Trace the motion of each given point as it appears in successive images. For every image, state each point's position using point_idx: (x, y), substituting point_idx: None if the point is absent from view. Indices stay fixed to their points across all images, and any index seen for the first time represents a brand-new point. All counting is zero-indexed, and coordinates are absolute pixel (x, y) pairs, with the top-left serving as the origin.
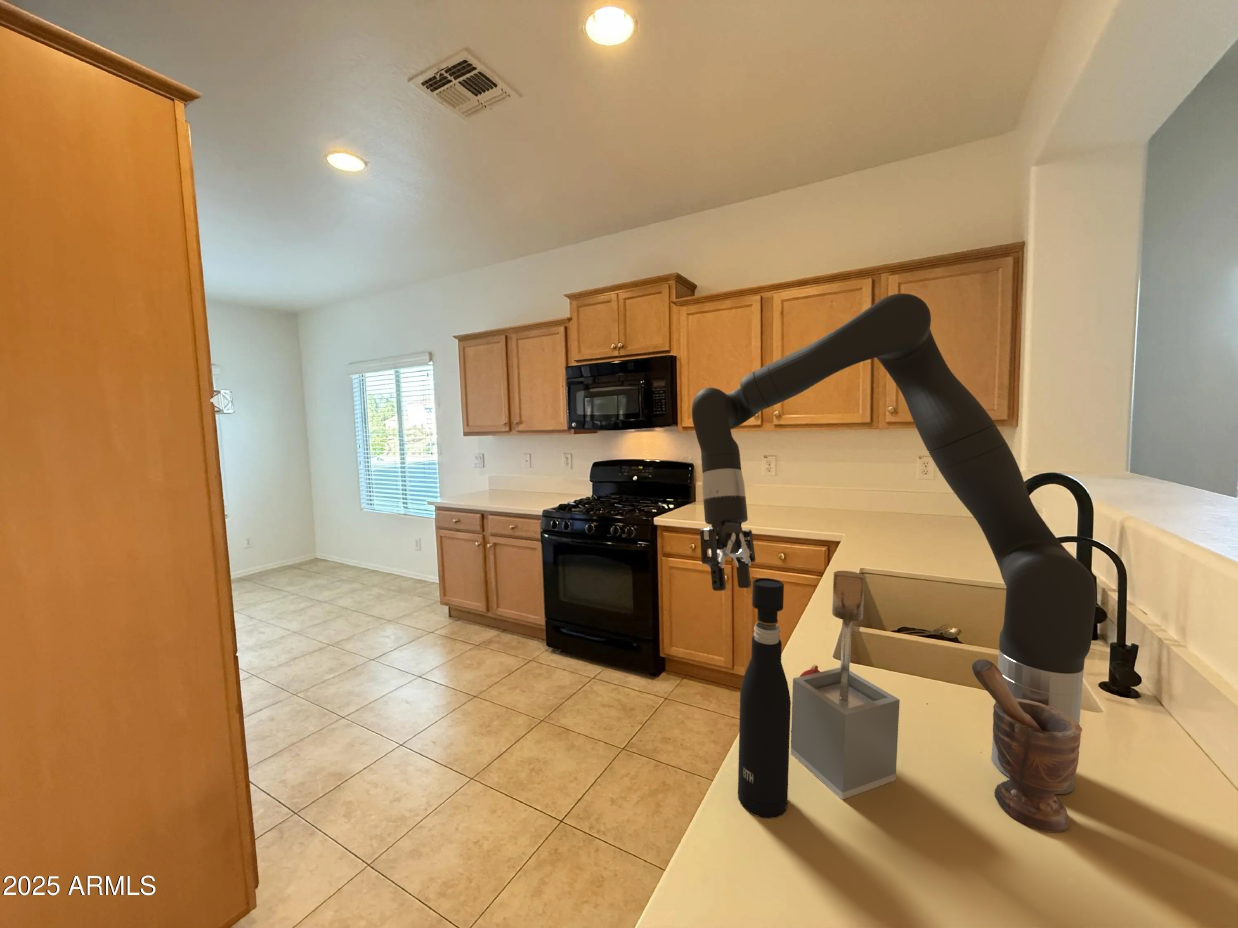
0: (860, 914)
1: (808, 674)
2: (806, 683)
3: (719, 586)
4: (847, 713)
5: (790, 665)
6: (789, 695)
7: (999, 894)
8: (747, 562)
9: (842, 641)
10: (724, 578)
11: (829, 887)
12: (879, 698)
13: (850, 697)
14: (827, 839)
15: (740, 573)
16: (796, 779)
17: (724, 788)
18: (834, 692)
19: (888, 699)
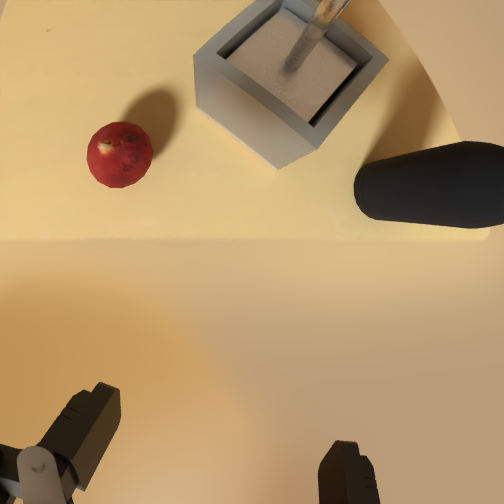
0: (440, 101)
1: (122, 158)
2: (322, 120)
3: (366, 458)
4: (383, 56)
5: (11, 233)
6: (474, 141)
7: (364, 2)
8: (58, 475)
9: (349, 1)
10: (350, 478)
11: (433, 121)
12: (274, 6)
13: (280, 50)
14: (393, 120)
15: (93, 457)
16: (325, 156)
17: (382, 236)
18: (278, 75)
19: None
